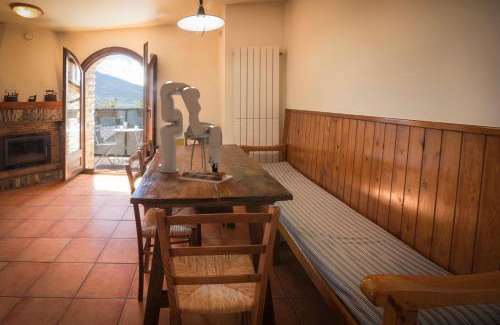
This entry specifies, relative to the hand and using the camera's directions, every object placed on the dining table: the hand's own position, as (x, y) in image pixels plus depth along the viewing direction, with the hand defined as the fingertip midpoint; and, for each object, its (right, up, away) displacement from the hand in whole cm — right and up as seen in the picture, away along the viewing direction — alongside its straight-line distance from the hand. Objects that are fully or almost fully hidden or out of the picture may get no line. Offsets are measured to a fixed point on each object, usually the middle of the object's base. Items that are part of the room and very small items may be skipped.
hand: (214, 173), depth 237 cm
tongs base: (-7, -3, -11) cm, 14 cm away
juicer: (-13, +2, +24) cm, 27 cm away
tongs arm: (-4, -1, -3) cm, 5 cm away
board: (-5, -3, -6) cm, 8 cm away
